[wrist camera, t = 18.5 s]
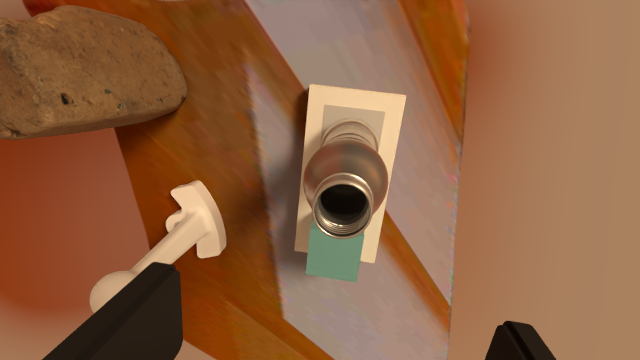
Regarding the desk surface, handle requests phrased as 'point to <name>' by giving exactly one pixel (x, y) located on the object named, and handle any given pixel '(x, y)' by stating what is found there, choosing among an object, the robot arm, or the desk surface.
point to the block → (82, 74)
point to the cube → (333, 255)
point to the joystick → (173, 239)
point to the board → (337, 105)
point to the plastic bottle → (346, 179)
